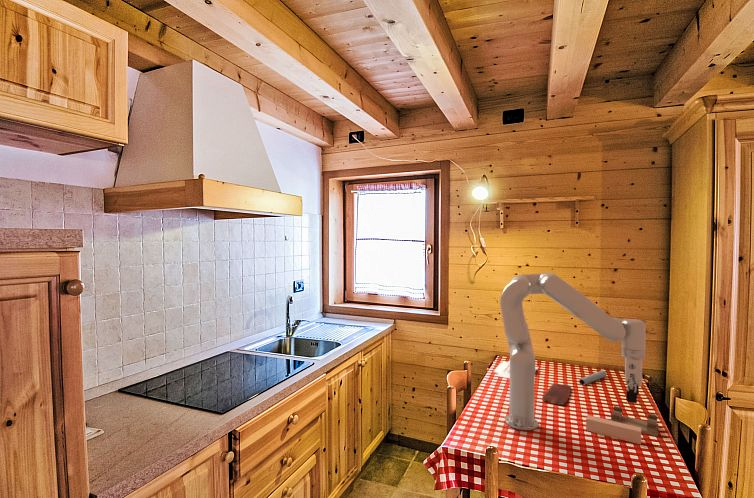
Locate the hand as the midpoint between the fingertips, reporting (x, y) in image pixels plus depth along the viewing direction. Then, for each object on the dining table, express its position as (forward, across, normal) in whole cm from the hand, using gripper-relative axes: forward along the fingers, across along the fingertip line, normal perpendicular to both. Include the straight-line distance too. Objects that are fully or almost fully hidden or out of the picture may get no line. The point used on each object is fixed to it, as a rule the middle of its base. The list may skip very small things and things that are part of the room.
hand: (632, 397), depth 148 cm
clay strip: (+16, 0, +6) cm, 17 cm away
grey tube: (+17, +61, +20) cm, 66 cm away
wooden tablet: (+16, +29, +37) cm, 50 cm away
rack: (+16, +14, 0) cm, 21 cm away
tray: (+17, +50, +59) cm, 80 cm away
